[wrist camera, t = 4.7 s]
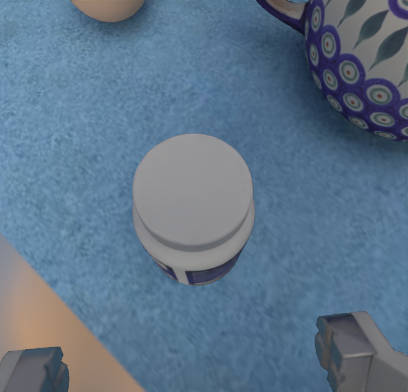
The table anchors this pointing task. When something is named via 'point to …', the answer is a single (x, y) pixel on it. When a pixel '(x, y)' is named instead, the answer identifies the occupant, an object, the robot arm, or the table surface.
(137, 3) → the egg
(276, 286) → the table surface
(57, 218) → the table surface
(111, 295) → the table surface
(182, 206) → the pill bottle
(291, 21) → the teapot
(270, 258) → the table surface
